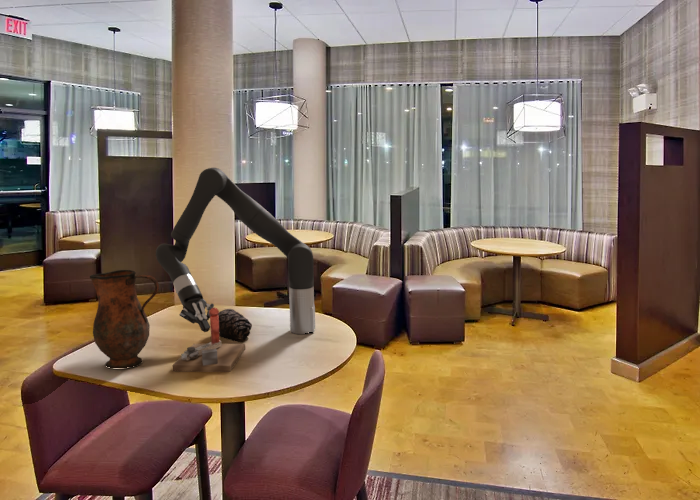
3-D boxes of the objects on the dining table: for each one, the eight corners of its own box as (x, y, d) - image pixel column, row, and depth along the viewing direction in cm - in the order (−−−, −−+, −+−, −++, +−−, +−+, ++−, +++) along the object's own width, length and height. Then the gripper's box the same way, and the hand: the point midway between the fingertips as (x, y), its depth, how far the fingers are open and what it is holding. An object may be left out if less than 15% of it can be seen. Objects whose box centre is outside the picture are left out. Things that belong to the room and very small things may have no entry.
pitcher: (108, 355, 181) (101, 267, 176) (172, 354, 181) (166, 267, 176) (85, 374, 164) (76, 278, 160) (154, 373, 164) (148, 277, 160)
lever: (189, 361, 168) (186, 319, 166) (179, 358, 170) (176, 317, 168) (224, 346, 181) (222, 307, 179) (214, 344, 183) (212, 305, 181)
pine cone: (240, 345, 190) (239, 317, 188) (209, 335, 200) (208, 309, 199) (262, 337, 198) (261, 311, 196) (231, 328, 209) (230, 303, 207)
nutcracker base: (245, 349, 185) (244, 332, 184) (230, 371, 165) (229, 353, 164) (194, 349, 186) (193, 332, 185) (172, 371, 166) (171, 352, 165)
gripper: (173, 287, 184) (192, 329, 177) (207, 280, 193) (227, 320, 186) (166, 299, 188) (185, 341, 182) (201, 292, 197) (220, 332, 191)
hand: (207, 330), depth 184 cm, fingers closed
